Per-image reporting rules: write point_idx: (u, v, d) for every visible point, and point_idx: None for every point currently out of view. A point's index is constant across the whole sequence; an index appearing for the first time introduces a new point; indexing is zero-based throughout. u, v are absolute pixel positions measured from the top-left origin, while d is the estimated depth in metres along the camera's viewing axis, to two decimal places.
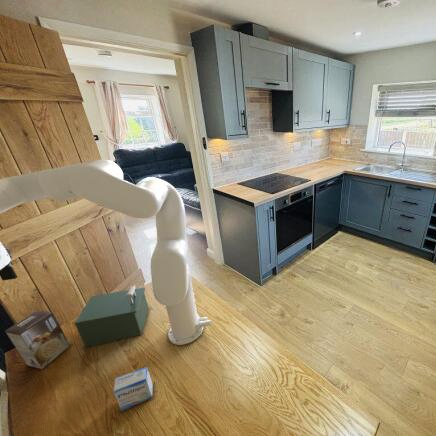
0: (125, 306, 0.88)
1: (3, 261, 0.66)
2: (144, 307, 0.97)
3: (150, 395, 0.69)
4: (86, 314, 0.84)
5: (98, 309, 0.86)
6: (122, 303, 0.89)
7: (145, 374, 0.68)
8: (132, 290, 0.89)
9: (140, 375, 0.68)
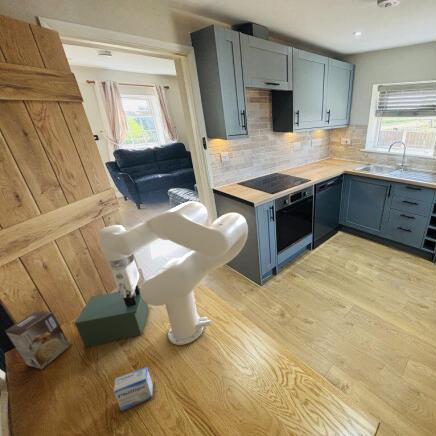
0: (125, 306, 0.88)
1: (137, 276, 0.90)
2: (144, 307, 0.97)
3: (150, 395, 0.69)
4: (86, 314, 0.84)
5: (98, 309, 0.86)
6: (122, 303, 0.89)
7: (145, 374, 0.68)
8: None
9: (140, 375, 0.68)
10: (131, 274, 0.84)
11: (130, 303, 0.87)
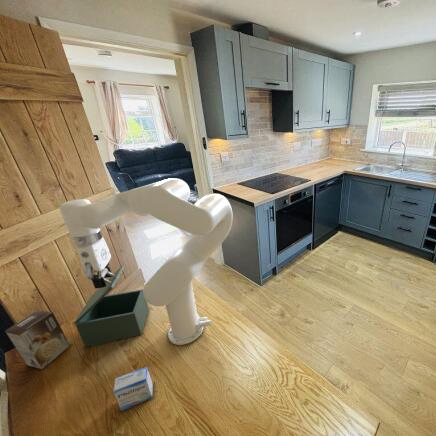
0: (106, 288, 0.83)
1: (108, 257, 0.84)
2: (144, 307, 0.97)
3: (150, 395, 0.69)
4: (82, 312, 0.83)
5: (90, 303, 0.84)
6: (105, 287, 0.85)
7: (145, 374, 0.68)
8: (101, 272, 0.83)
9: (140, 375, 0.68)
10: (99, 253, 0.78)
11: (99, 285, 0.81)
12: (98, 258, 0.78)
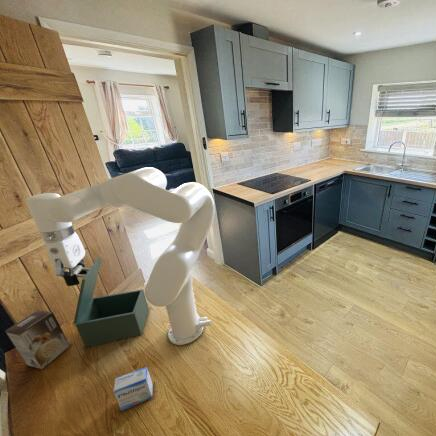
0: None
1: (81, 254, 0.81)
2: (144, 307, 0.97)
3: (150, 395, 0.69)
4: None
5: None
6: None
7: (145, 374, 0.68)
8: (73, 270, 0.80)
9: (140, 375, 0.68)
10: (70, 249, 0.75)
11: (71, 282, 0.78)
12: (69, 254, 0.74)
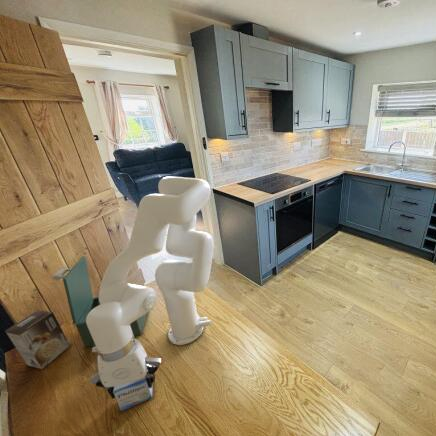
0: None
1: (132, 377, 0.63)
2: None
3: (150, 395, 0.69)
4: None
5: None
6: None
7: None
8: None
9: None
10: (108, 371, 0.60)
11: None
12: (104, 375, 0.61)
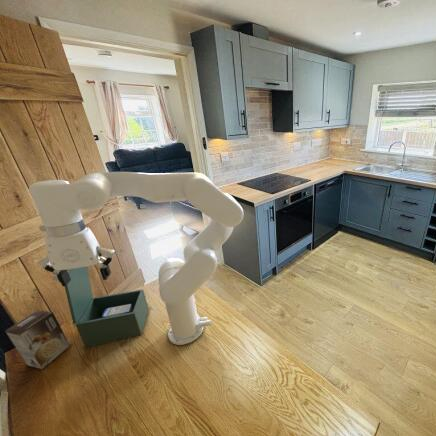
0: None
1: (82, 262, 0.64)
2: (144, 307, 0.97)
3: (124, 312, 0.89)
4: None
5: None
6: None
7: (103, 314, 0.88)
8: None
9: None
10: (56, 251, 0.61)
11: None
12: (52, 255, 0.61)
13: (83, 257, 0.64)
